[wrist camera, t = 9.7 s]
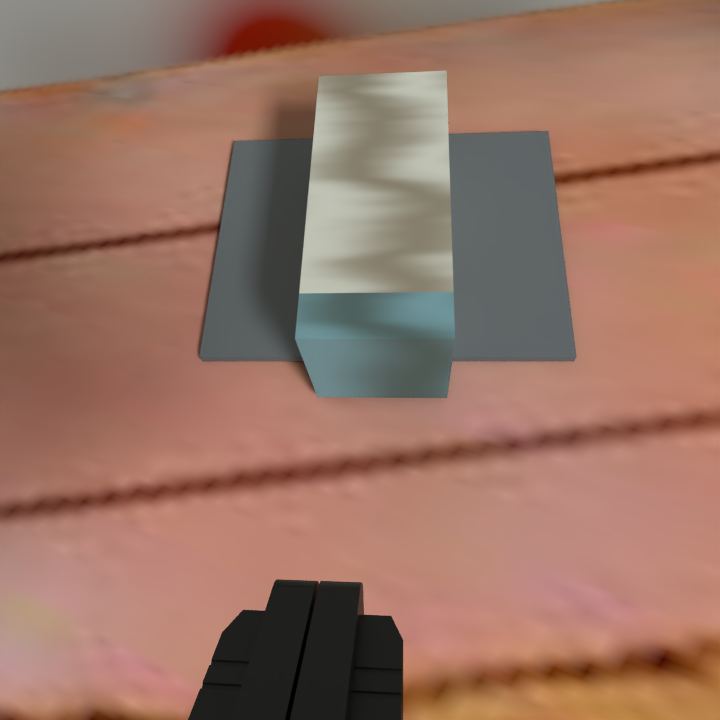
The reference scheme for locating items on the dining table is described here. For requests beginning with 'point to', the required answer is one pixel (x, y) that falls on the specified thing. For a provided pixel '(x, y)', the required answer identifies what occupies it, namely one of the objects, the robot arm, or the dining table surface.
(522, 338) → the mat
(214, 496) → the dining table surface
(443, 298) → the block
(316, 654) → the robot arm
